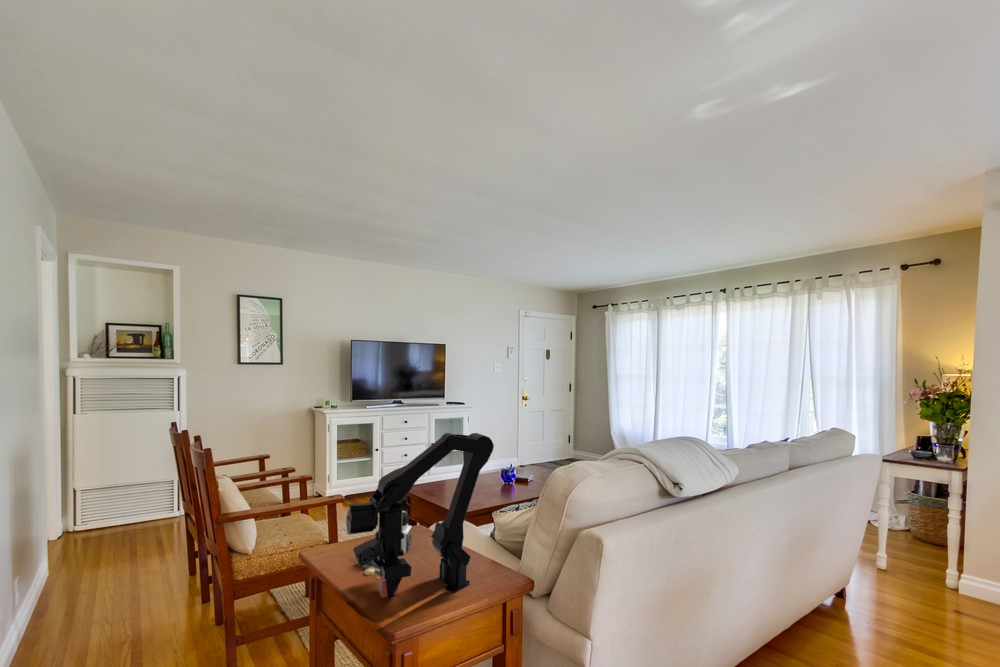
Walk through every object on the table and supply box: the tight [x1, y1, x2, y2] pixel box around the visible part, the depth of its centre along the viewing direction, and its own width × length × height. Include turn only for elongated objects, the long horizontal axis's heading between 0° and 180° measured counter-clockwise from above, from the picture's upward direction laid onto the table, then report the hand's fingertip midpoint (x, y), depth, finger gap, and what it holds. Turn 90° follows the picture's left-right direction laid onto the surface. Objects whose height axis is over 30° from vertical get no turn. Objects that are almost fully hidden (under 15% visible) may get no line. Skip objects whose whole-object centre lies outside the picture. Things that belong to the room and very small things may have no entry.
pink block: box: [377, 574, 400, 598], centre depth 121 cm, size 4×4×5 cm
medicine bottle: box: [402, 510, 413, 555], centre depth 149 cm, size 7×7×12 cm
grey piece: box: [357, 563, 381, 580], centre depth 134 cm, size 15×9×4 cm, turn 55°
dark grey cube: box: [366, 560, 378, 568], centre depth 138 cm, size 4×4×4 cm
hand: (388, 593), depth 121 cm, fingers closed on pink block, 4 cm apart
